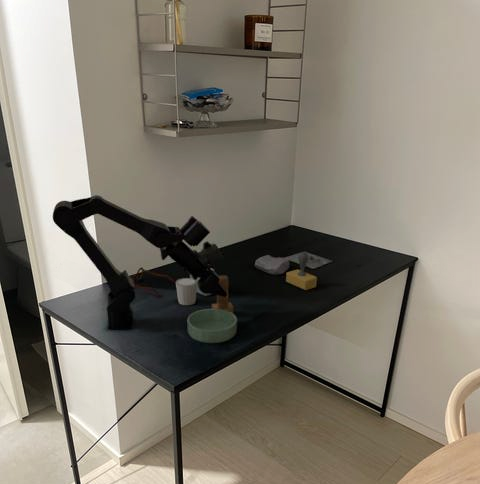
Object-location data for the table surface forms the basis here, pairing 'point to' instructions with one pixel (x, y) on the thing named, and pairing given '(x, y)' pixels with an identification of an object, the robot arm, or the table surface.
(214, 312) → the bowl
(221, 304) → the brown stepped block
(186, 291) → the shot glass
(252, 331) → the table surface
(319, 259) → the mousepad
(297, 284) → the rubber stamp
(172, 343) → the table surface
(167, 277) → the glasses
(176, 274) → the table surface
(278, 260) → the stone block
